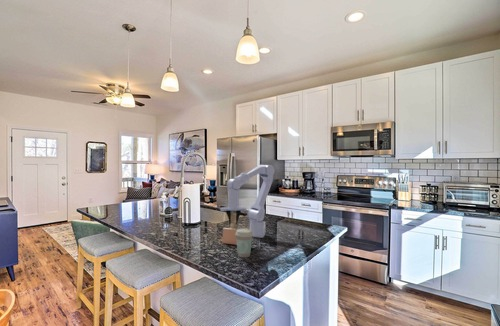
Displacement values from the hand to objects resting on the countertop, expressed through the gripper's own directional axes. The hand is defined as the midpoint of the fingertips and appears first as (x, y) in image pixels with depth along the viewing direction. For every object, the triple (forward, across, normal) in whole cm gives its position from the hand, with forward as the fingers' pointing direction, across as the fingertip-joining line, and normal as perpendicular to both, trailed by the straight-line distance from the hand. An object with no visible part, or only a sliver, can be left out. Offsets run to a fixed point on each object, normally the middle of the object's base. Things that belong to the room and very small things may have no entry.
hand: (233, 223), depth 138 cm
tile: (+10, +2, +4) cm, 11 cm away
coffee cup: (+10, -4, +22) cm, 24 cm away
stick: (+4, 0, 0) cm, 4 cm away
